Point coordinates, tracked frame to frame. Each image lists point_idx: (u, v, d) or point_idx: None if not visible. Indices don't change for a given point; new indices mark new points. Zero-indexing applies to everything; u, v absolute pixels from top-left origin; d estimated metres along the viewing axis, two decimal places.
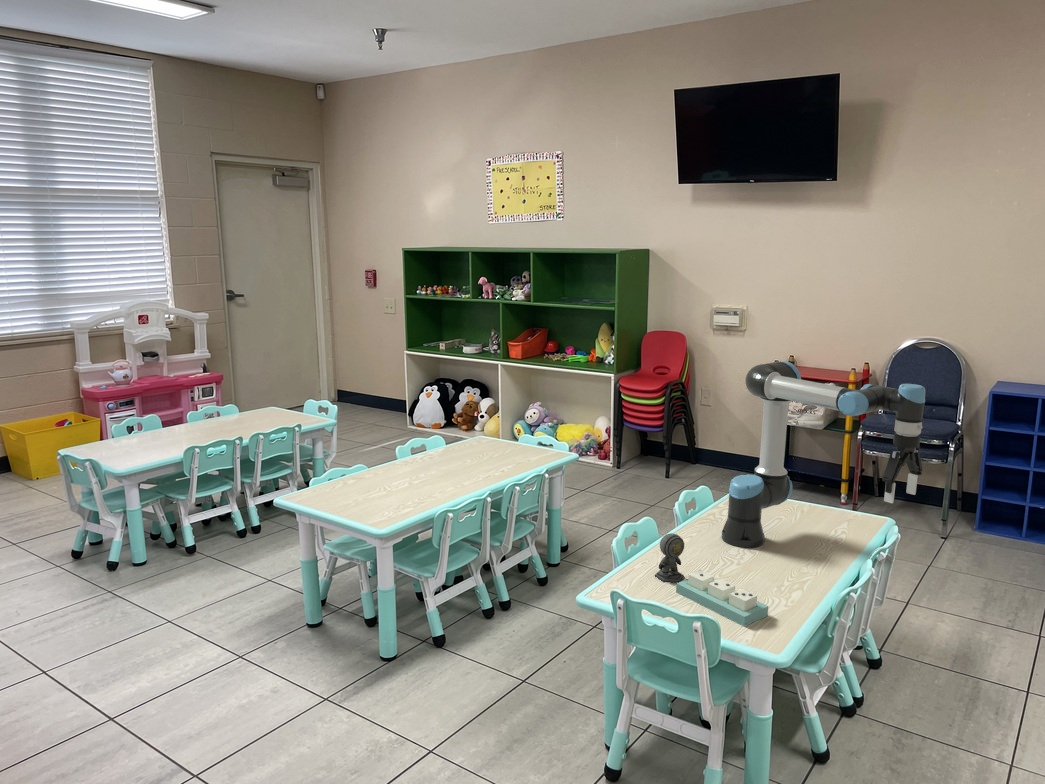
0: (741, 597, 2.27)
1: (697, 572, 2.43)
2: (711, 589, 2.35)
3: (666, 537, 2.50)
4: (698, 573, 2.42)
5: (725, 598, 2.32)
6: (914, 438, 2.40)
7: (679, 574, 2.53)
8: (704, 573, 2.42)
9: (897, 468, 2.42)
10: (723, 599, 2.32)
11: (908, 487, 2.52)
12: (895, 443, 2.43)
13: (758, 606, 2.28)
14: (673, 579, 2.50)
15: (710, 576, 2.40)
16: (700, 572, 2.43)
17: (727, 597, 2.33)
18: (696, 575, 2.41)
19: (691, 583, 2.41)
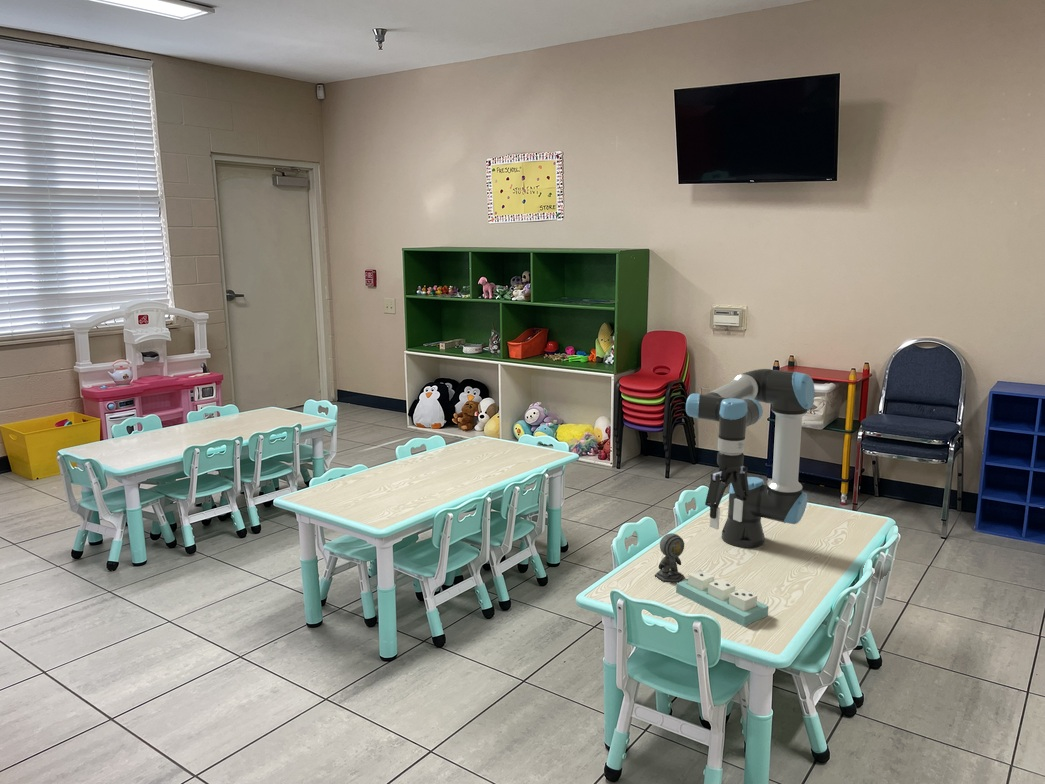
0: (741, 597, 2.27)
1: (697, 572, 2.43)
2: (711, 589, 2.35)
3: (666, 537, 2.50)
4: (698, 573, 2.42)
5: (725, 598, 2.32)
6: (735, 457, 2.23)
7: (679, 574, 2.53)
8: (704, 573, 2.42)
9: (720, 491, 2.25)
10: (723, 599, 2.32)
11: (734, 513, 2.34)
12: (718, 462, 2.26)
13: (758, 606, 2.28)
14: (673, 579, 2.50)
15: (710, 576, 2.40)
16: (700, 572, 2.43)
17: (727, 597, 2.33)
18: (696, 575, 2.41)
19: (691, 583, 2.41)
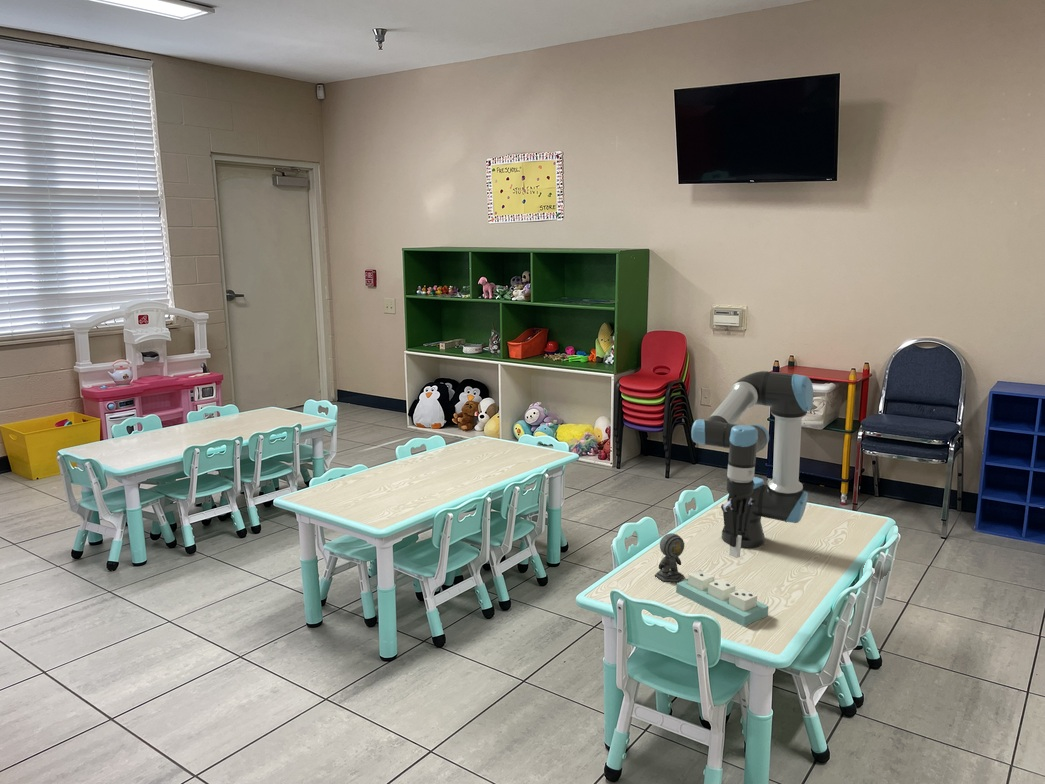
0: (741, 597, 2.27)
1: (697, 572, 2.43)
2: (711, 589, 2.35)
3: (666, 537, 2.50)
4: (698, 573, 2.42)
5: (725, 598, 2.32)
6: (745, 484, 2.20)
7: (679, 574, 2.53)
8: (704, 573, 2.42)
9: (735, 520, 2.24)
10: (723, 599, 2.32)
11: None
12: (727, 489, 2.24)
13: (758, 606, 2.28)
14: (673, 579, 2.50)
15: (710, 576, 2.40)
16: (700, 572, 2.43)
17: (727, 597, 2.33)
18: (696, 575, 2.41)
19: (691, 583, 2.41)
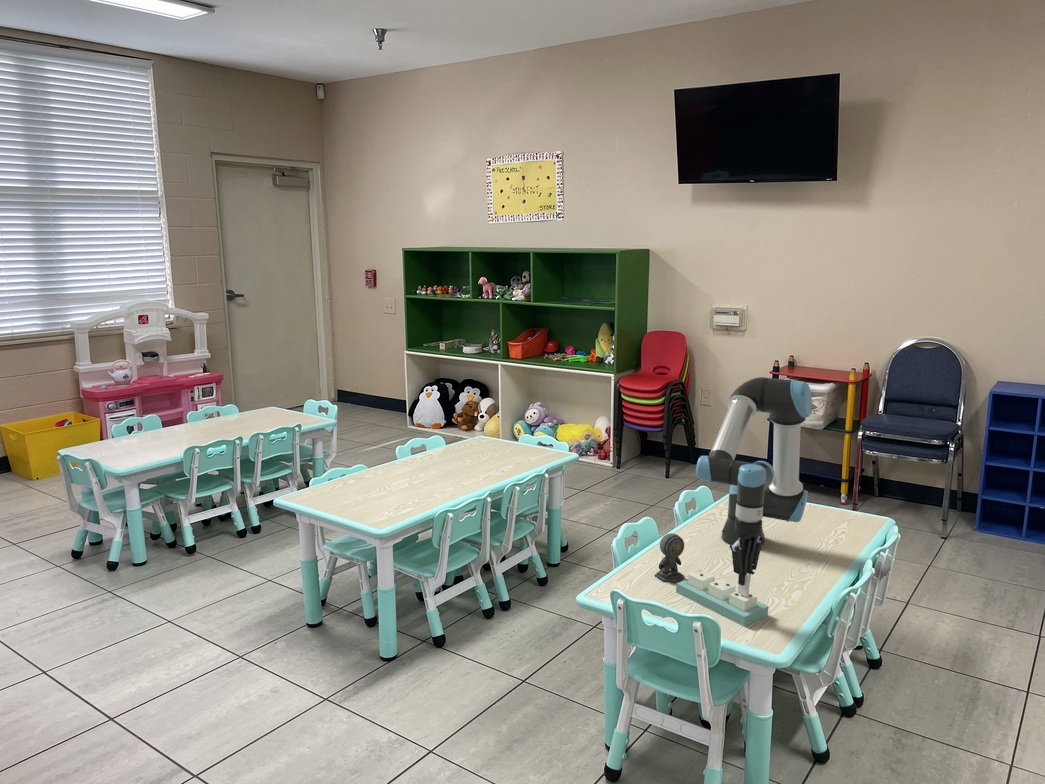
0: (741, 597, 2.27)
1: (697, 572, 2.43)
2: (711, 589, 2.35)
3: (666, 537, 2.50)
4: (698, 573, 2.42)
5: (725, 598, 2.32)
6: (754, 524, 2.20)
7: (679, 574, 2.53)
8: (704, 573, 2.42)
9: (744, 559, 2.24)
10: (723, 599, 2.32)
11: None
12: (736, 529, 2.23)
13: (758, 606, 2.28)
14: (673, 579, 2.50)
15: (710, 576, 2.40)
16: (700, 572, 2.43)
17: (727, 597, 2.33)
18: (696, 575, 2.41)
19: (691, 583, 2.41)
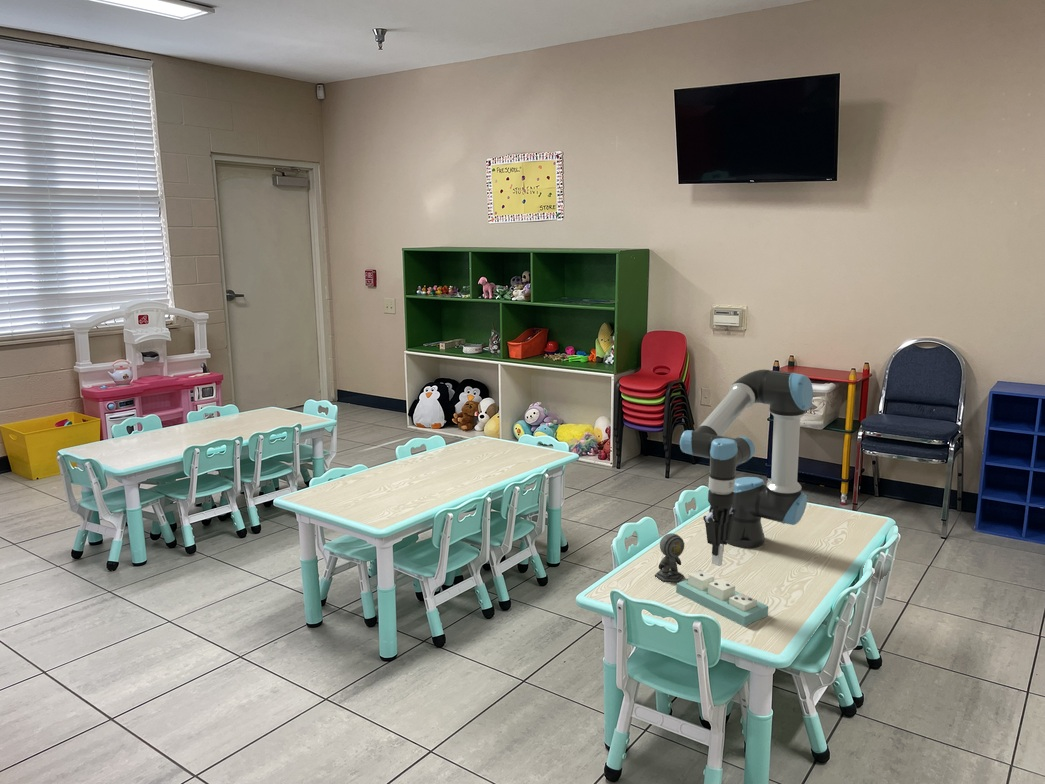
0: (740, 601, 2.27)
1: (697, 572, 2.43)
2: (711, 589, 2.35)
3: (666, 537, 2.50)
4: (698, 573, 2.42)
5: (725, 598, 2.32)
6: (726, 496, 2.27)
7: (679, 574, 2.53)
8: (704, 573, 2.42)
9: (717, 530, 2.32)
10: (723, 599, 2.32)
11: None
12: (709, 501, 2.31)
13: (758, 606, 2.28)
14: (673, 579, 2.50)
15: (710, 576, 2.40)
16: (700, 572, 2.43)
17: (727, 597, 2.33)
18: (696, 575, 2.41)
19: (691, 583, 2.41)
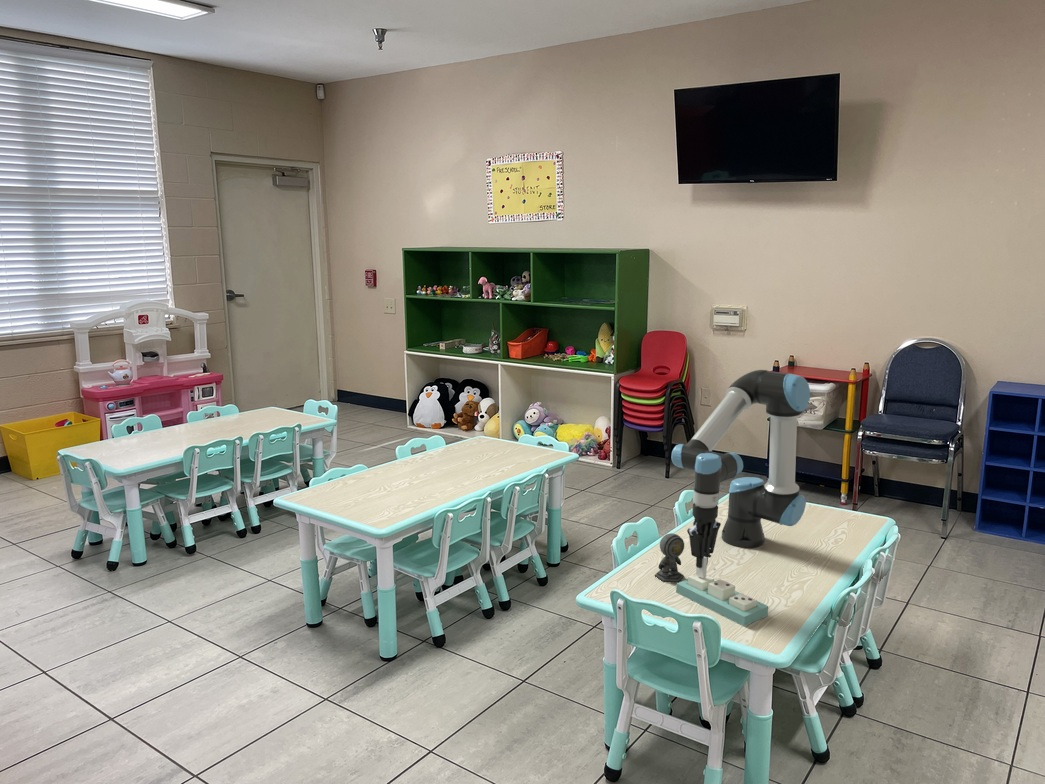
0: (740, 601, 2.27)
1: None
2: (711, 589, 2.35)
3: (666, 537, 2.50)
4: None
5: (725, 598, 2.32)
6: (710, 510, 2.33)
7: (679, 574, 2.53)
8: None
9: (701, 543, 2.37)
10: (723, 599, 2.32)
11: None
12: (693, 514, 2.36)
13: (758, 606, 2.28)
14: (673, 579, 2.50)
15: (710, 578, 2.40)
16: None
17: (727, 597, 2.33)
18: (696, 577, 2.41)
19: (691, 585, 2.41)
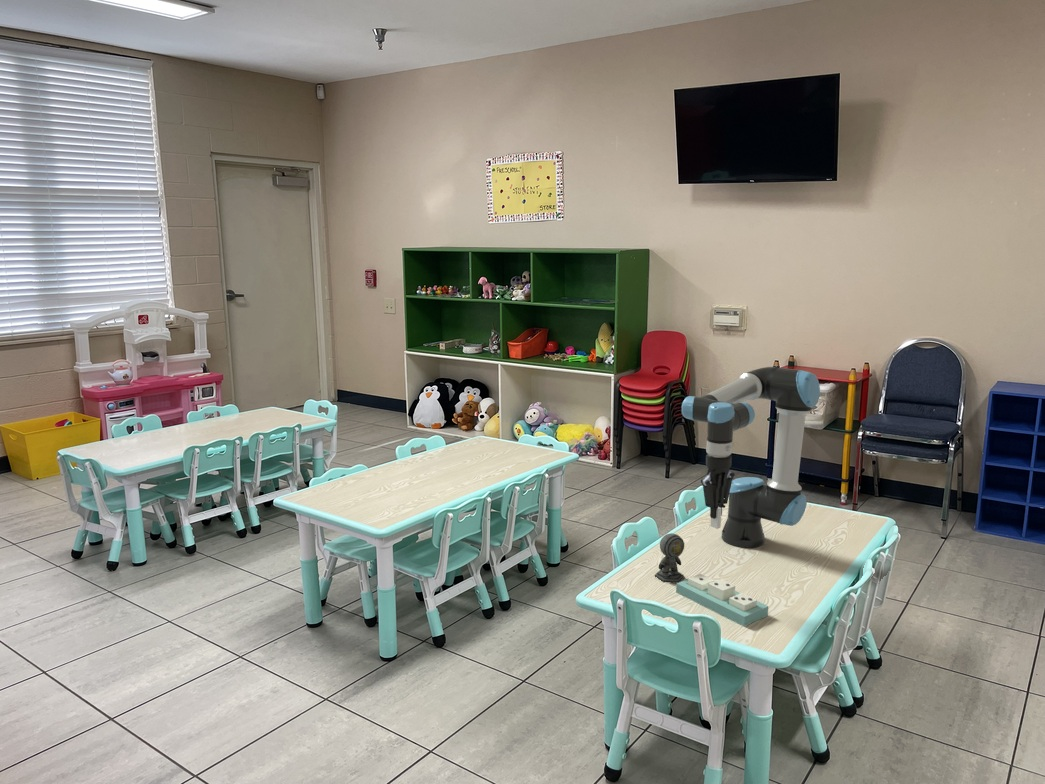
0: (740, 601, 2.27)
1: (697, 576, 2.43)
2: (711, 589, 2.35)
3: (666, 537, 2.50)
4: (697, 577, 2.43)
5: (725, 598, 2.32)
6: (723, 459, 2.31)
7: (679, 574, 2.53)
8: (704, 577, 2.42)
9: (715, 493, 2.35)
10: (723, 599, 2.32)
11: None
12: (706, 464, 2.34)
13: (758, 606, 2.28)
14: (673, 579, 2.50)
15: (710, 580, 2.40)
16: (700, 576, 2.43)
17: (727, 597, 2.33)
18: (696, 579, 2.41)
19: None
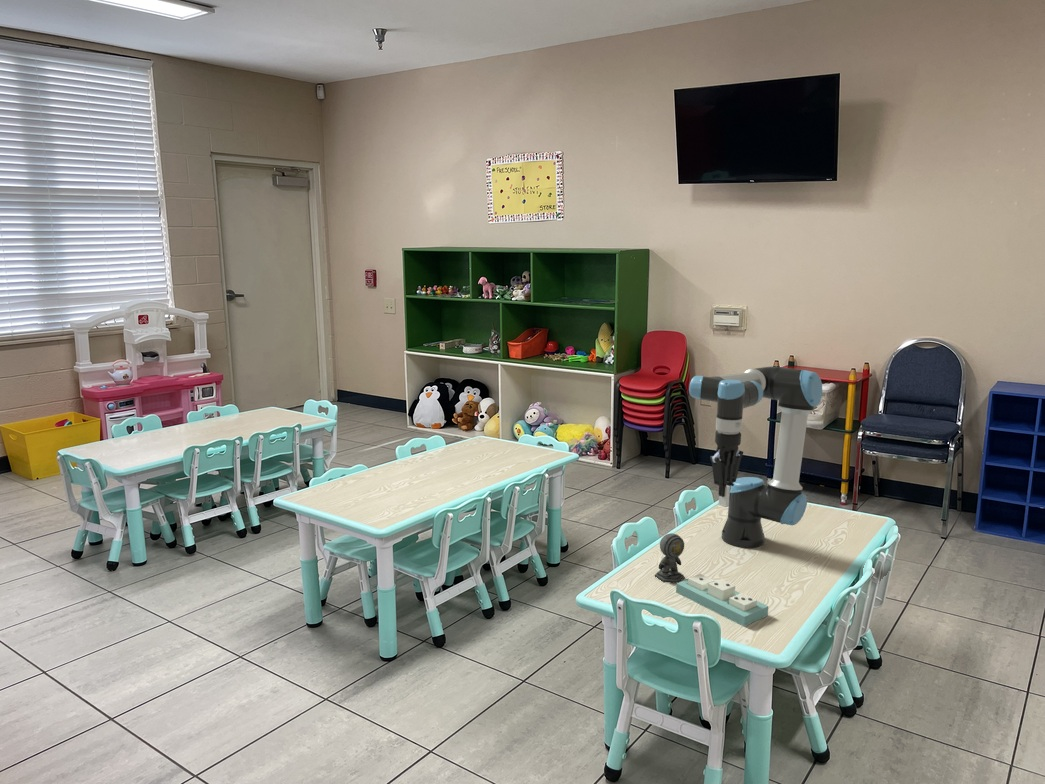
0: (740, 601, 2.27)
1: (697, 576, 2.43)
2: (711, 589, 2.35)
3: (666, 537, 2.50)
4: (697, 577, 2.43)
5: (725, 598, 2.32)
6: (733, 436, 2.30)
7: (679, 574, 2.53)
8: (704, 577, 2.42)
9: (724, 471, 2.34)
10: (723, 599, 2.32)
11: None
12: (716, 441, 2.33)
13: (758, 606, 2.28)
14: (673, 579, 2.50)
15: (710, 580, 2.40)
16: (700, 576, 2.43)
17: (727, 597, 2.33)
18: (696, 579, 2.41)
19: None
